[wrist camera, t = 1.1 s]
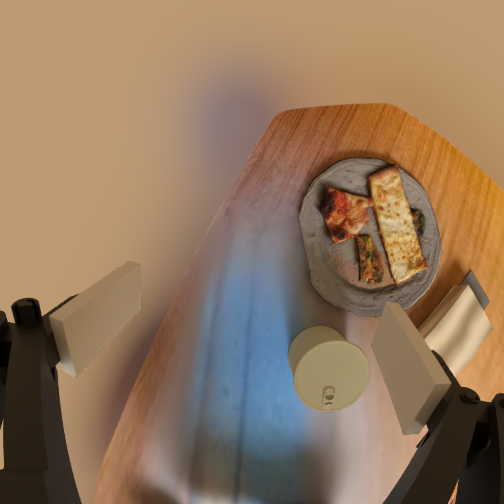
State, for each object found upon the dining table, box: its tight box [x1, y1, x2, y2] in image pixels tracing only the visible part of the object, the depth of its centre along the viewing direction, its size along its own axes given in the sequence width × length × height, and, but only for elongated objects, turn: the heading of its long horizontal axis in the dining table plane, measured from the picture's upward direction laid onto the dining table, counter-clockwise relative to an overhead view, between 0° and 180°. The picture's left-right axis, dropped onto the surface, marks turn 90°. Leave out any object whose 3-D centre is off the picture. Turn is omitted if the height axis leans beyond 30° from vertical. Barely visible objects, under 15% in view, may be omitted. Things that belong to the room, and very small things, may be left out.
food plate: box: [299, 157, 442, 317], centre depth 41 cm, size 25×23×4 cm
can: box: [288, 326, 370, 412], centre depth 35 cm, size 9×9×12 cm
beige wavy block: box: [417, 285, 493, 378], centre depth 37 cm, size 10×14×4 cm
